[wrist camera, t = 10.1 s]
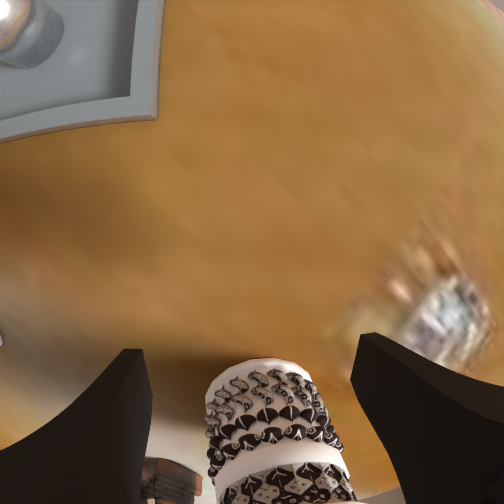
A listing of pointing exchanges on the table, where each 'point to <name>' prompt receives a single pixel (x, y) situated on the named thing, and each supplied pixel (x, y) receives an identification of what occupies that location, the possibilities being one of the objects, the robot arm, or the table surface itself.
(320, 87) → the table surface
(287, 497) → the decorative candle
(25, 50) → the shaker
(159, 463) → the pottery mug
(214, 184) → the table surface
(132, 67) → the tray
